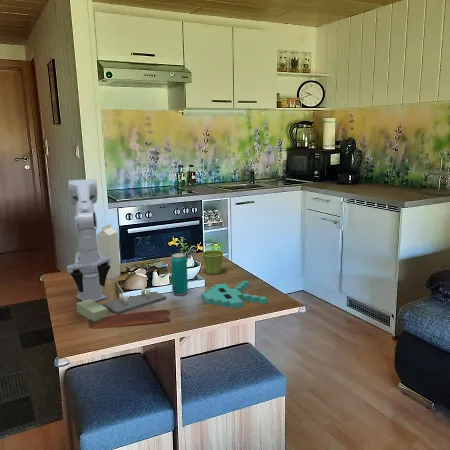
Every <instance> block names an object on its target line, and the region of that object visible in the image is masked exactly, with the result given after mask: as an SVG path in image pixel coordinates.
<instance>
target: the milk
mask: <svg viewBox="0 0 450 450" xmlns="http://www.w3.org/2000/svg"><path fill="white" fill-rule="evenodd" d="M96 236H97V249H98V250H99V251H101V253H102V256H103V258H104V257H110V258H111V263H110V264H108V265H110V269H109V271H108V273H107V276H106V279H107V280H114V279H115V278H118V277H119V276H121V266H120V264H121V263H120V253H119V252H120V251H119V237H118V231H117V230H116V229H114V228H112V224H111V223H110V224H107V225H104V226H102V230H101V231H100V232H98V233H96Z"/></svg>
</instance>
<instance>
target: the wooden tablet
mask: <svg viewBox="0 0 450 450" xmlns="http://www.w3.org/2000/svg"><path fill="white" fill-rule="evenodd" d="M170 316H171V310H169V309H159V310H158V309H157V310H149V311H148V310H146V311H140V312H139V311H138V312H129V313H121V314H118V315H117V314H115V315H108V317H105V318H102V319H99V320H97V321H92V320H90V319H88V321H87V325H88V328H89V329H90V330H92V329H93V330H103V329H111V328H120V327H121V328H122V327H128V326H129V327H132V326H141V325H152V324H154V325H155V324H156V325H157V324H163V323H164V324H165V323H170V322H171V321H172V319H171V318H170Z"/></svg>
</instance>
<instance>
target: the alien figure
mask: <svg viewBox="0 0 450 450" xmlns="http://www.w3.org/2000/svg"><path fill="white" fill-rule="evenodd" d="M249 285H250V284H249V281H248V280H241V282H240V283H237V285H235V286H234V287H233V288H230V287H229V286H228V285H227V283H218V284H214V285H213V286H211V287H209V289H206V290H205V292H201V298H202V300H203V301H204V302H205V304H206V303H207V305H210V304H209V303H211V304H213V305H214V306H222V307H223V308H225V307H229V308H230V309H236V308H238V309H239V308H243V307H244V302H249V301H250V302H252V303H253V304H254V303H259V304H260V305H264V304H267V303H268V299H267V297H266V296H258V295H257V294H254V295H250V294H249V293H242V292H243V290H244V291H245V290H246V288H250V287H249Z"/></svg>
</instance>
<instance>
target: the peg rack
mask: <svg viewBox="0 0 450 450" xmlns="http://www.w3.org/2000/svg"><path fill="white" fill-rule="evenodd" d="M150 290H151V289H148V288H147V289H146V287H141V288H140V291H141V292H140V293H142V294H141V295H137V296H131V295H124V294H123V293H119V294H118V299H114V300H111V301H107V302H104V303H102V306H104V307H106V308H107V310H108V311H110V312H111V313H113V314H115V315H120V314H125V313H127V312H130V311H133V310H136V309H139V308H142V307H146V306H148V305H153V304H156V303H158V302H162V301H164V300H167V296H166V295H164V294H163V293H160V292H157V291H155V292H150ZM145 291H146V294H145ZM128 296H129V297H128Z"/></svg>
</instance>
